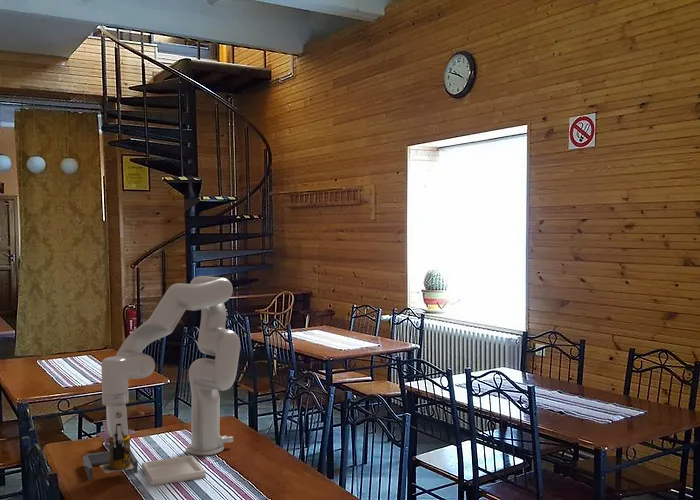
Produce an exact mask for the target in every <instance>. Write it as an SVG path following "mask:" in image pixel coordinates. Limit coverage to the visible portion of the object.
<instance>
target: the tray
mask: <svg viewBox="0 0 700 500" xmlns="http://www.w3.org/2000/svg"><path fill="white" fill-rule="evenodd" d="M141 470H142V471H143V473H144V475H145V476H146V477H147V479H148V481H149V483H150V485H151V487H154V486H160V485H161V486H162V485H167V484H168V485H169V484H173V483H178V482H183V481H190V480H196V479H197V480H198V479H203V478H206V476H207V475H206V472H207V471H206V469H205V468H204V467H203V466H202V465H201V464H200V463H199V461H198V460H197V459H196V458H195V456H194V455H193V454H189V455H184V456H176V457H169V458H162V459H156V460H150V461H144V462H141Z"/></svg>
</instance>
